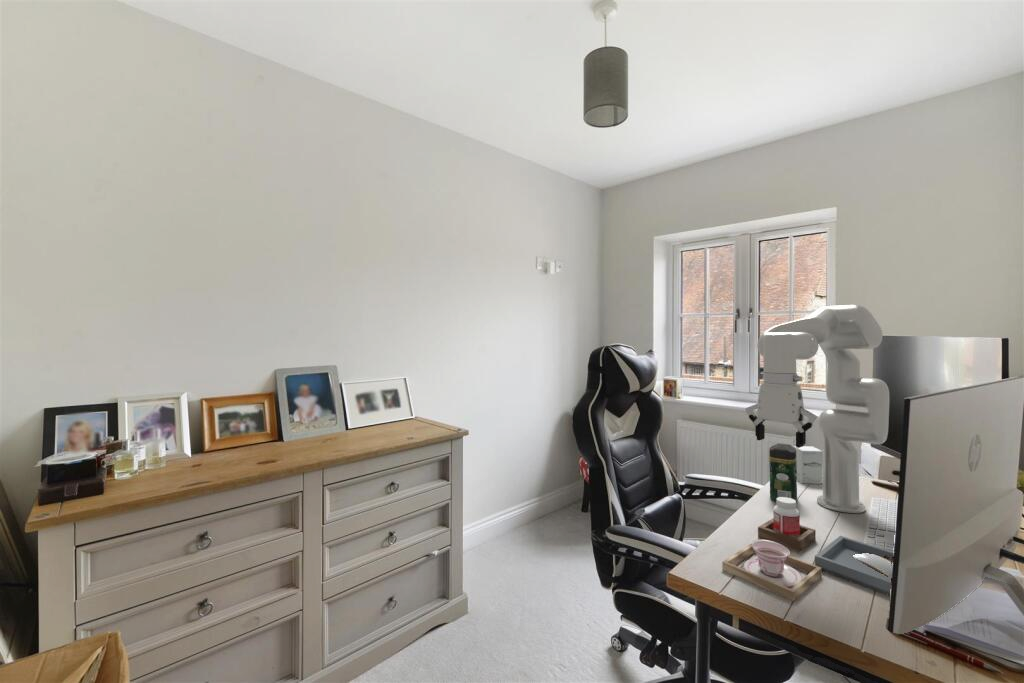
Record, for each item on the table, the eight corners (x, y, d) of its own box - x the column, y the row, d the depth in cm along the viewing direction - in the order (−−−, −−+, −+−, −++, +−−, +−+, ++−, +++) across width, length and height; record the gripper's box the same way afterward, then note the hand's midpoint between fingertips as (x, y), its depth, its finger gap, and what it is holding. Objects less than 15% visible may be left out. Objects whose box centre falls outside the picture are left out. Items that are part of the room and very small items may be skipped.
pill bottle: (804, 540, 119) (803, 500, 119) (793, 546, 116) (793, 506, 116) (780, 532, 125) (779, 494, 124) (769, 538, 121) (768, 498, 121)
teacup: (734, 560, 110) (734, 536, 110) (782, 560, 110) (782, 536, 110) (759, 588, 98) (759, 561, 98) (813, 588, 98) (813, 561, 98)
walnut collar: (774, 527, 128) (774, 517, 128) (815, 540, 119) (815, 529, 119) (758, 537, 122) (757, 527, 121) (799, 552, 113) (799, 541, 113)
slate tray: (840, 546, 116) (840, 535, 116) (927, 574, 102) (927, 562, 102) (815, 568, 106) (814, 555, 106) (907, 602, 92) (907, 588, 92)
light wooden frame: (753, 549, 115) (753, 542, 115) (821, 576, 102) (821, 567, 102) (722, 569, 106) (722, 561, 106) (793, 601, 93) (793, 592, 93)
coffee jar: (771, 492, 155) (771, 440, 154) (798, 497, 150) (797, 443, 149) (767, 500, 147) (767, 446, 147) (795, 506, 142) (794, 450, 142)
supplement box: (801, 483, 162) (801, 450, 162) (792, 477, 170) (792, 445, 169) (823, 484, 161) (823, 450, 161) (813, 478, 168) (812, 445, 168)
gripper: (822, 380, 111) (822, 447, 111) (752, 376, 125) (752, 435, 125) (811, 383, 106) (811, 452, 107) (739, 377, 120) (739, 439, 121)
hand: (779, 443), depth 116 cm, fingers open, 9 cm apart
